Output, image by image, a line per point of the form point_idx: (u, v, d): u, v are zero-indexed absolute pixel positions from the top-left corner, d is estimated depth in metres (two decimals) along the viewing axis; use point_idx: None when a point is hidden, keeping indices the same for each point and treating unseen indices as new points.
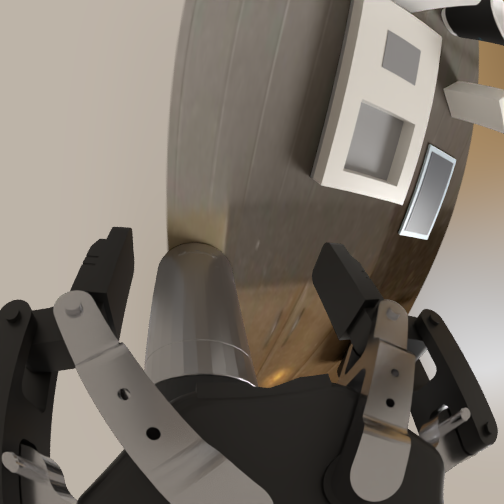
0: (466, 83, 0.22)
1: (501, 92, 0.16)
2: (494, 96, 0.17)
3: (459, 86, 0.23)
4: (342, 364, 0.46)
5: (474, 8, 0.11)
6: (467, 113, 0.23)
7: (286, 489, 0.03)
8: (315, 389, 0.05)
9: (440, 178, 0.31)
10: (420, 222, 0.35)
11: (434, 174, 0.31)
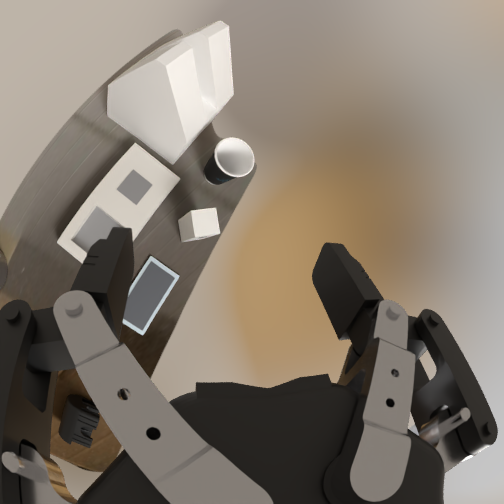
0: None
1: None
2: None
3: None
4: None
5: None
6: (184, 233, 0.50)
7: (286, 489, 0.03)
8: (315, 389, 0.05)
9: (157, 285, 0.50)
10: (133, 314, 0.47)
11: (151, 279, 0.49)
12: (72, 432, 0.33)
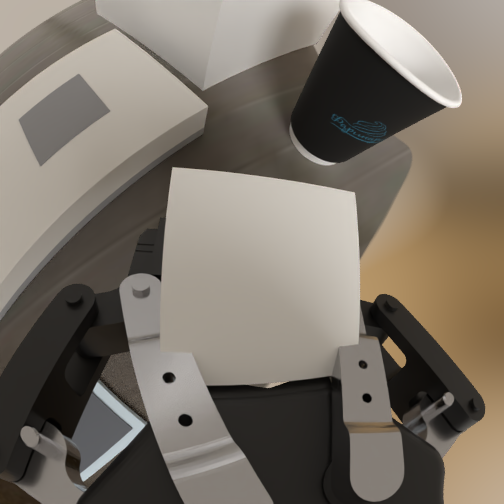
0: None
1: None
2: None
3: None
4: None
5: None
6: None
7: (286, 489, 0.03)
8: (315, 389, 0.05)
9: (80, 430, 0.11)
10: None
11: None
12: None
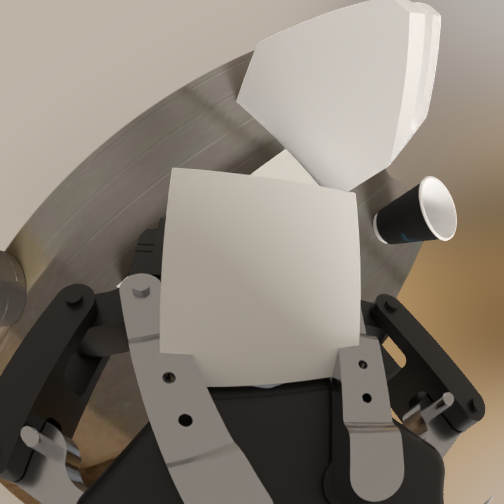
0: None
1: None
2: None
3: None
4: None
5: (405, 196, 0.29)
6: None
7: (286, 489, 0.03)
8: (315, 389, 0.05)
9: None
10: None
11: None
12: None
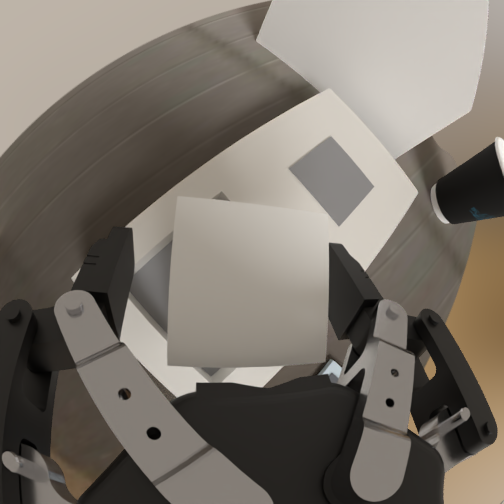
0: None
1: None
2: None
3: None
4: None
5: (473, 160, 0.18)
6: None
7: (286, 489, 0.03)
8: (315, 389, 0.05)
9: None
10: None
11: None
12: None
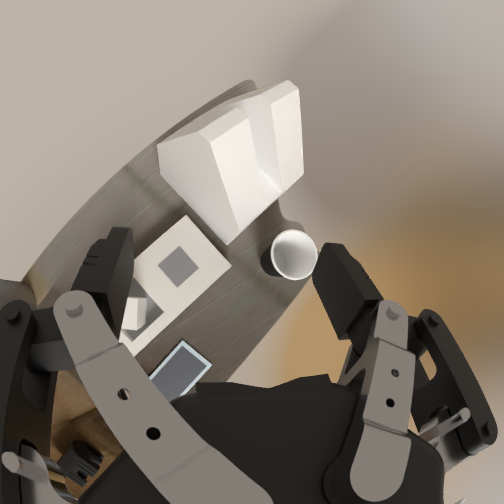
0: None
1: None
2: None
3: None
4: None
5: None
6: None
7: (286, 489, 0.03)
8: (315, 389, 0.05)
9: (187, 371, 0.45)
10: None
11: (181, 364, 0.45)
12: (68, 471, 0.28)
